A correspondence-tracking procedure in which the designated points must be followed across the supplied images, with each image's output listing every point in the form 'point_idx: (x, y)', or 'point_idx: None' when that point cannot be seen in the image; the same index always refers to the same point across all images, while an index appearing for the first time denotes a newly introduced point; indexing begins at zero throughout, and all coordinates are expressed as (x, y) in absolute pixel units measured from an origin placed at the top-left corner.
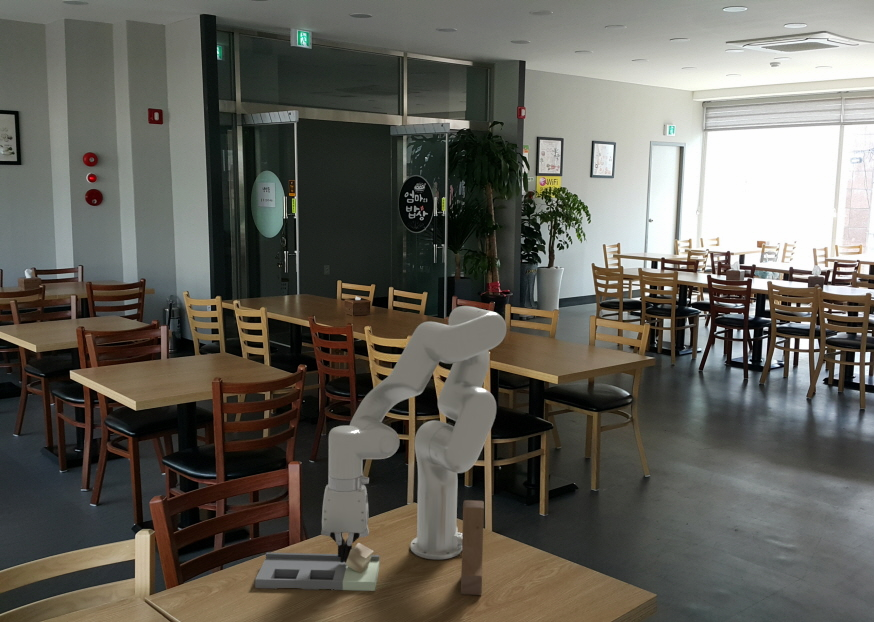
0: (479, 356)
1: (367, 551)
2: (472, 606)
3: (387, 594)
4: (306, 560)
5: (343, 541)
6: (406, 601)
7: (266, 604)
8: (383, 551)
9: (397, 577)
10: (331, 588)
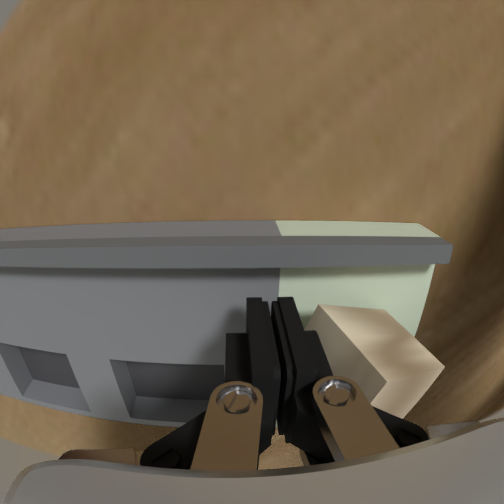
0: None
1: (412, 397)
2: None
3: None
4: (52, 273)
5: (271, 437)
6: (436, 409)
7: (76, 440)
8: (431, 52)
9: (460, 299)
10: None
